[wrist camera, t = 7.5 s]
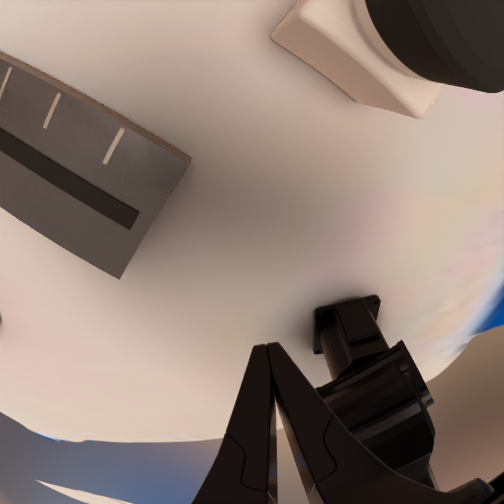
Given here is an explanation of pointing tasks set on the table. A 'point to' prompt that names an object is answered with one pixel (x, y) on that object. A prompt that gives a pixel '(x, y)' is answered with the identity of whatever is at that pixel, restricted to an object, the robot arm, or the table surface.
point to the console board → (79, 168)
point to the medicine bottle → (399, 47)
